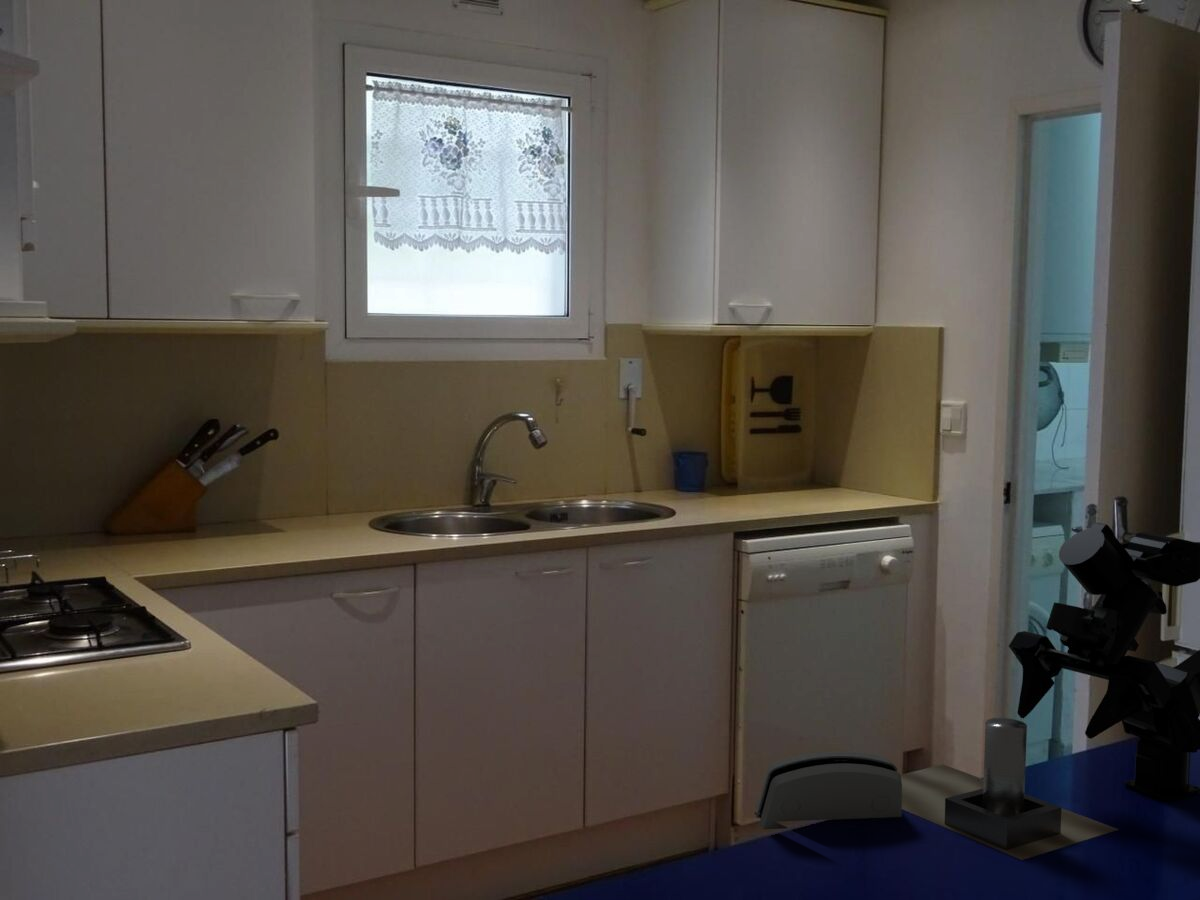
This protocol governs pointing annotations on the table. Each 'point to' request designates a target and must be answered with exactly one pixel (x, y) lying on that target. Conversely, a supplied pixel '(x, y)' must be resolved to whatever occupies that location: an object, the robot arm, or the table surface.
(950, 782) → the board
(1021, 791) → the pin
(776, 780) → the grey arched block
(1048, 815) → the knuckle socket
